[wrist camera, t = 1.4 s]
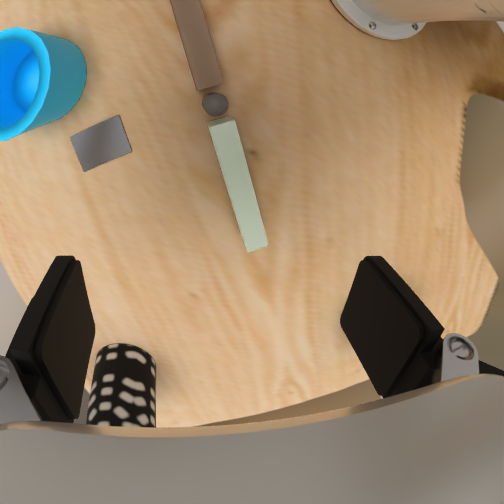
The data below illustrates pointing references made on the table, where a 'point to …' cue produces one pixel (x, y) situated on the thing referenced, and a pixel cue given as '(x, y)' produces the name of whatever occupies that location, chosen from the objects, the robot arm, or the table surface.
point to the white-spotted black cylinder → (123, 388)
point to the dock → (204, 75)
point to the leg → (238, 181)
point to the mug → (37, 79)
